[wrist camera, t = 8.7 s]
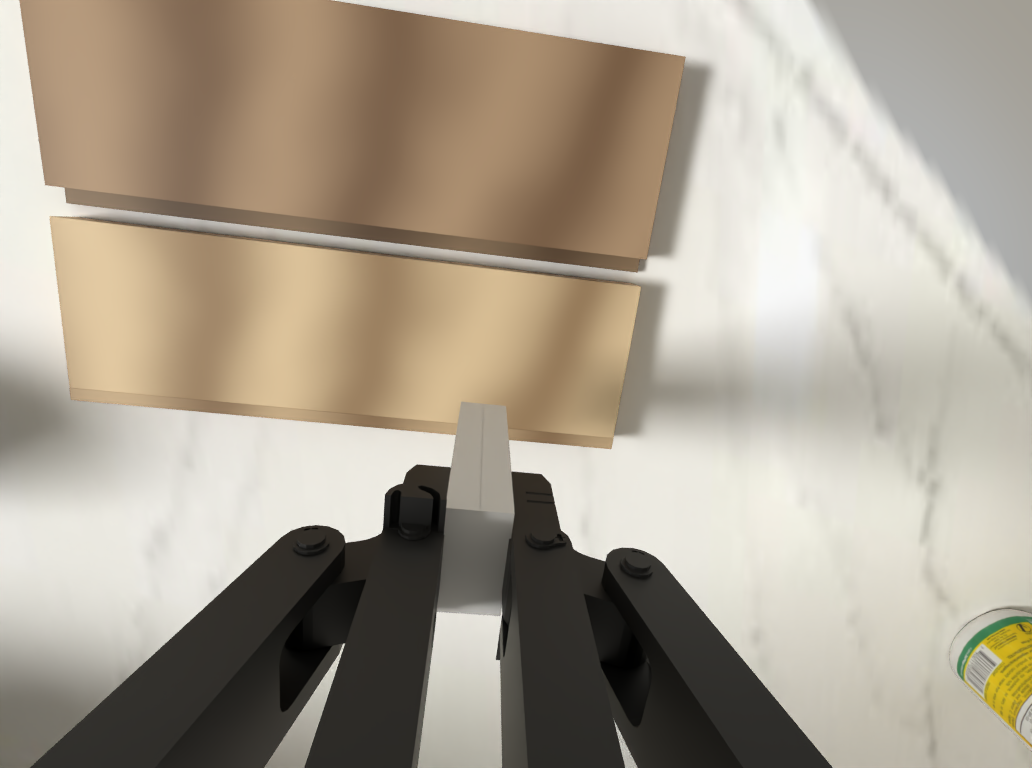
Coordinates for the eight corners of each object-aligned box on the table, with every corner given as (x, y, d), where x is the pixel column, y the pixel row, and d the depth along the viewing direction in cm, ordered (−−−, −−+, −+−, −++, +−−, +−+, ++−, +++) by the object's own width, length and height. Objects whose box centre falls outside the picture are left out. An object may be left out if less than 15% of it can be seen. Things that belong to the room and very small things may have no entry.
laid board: (72, 203, 20) (47, 202, 19) (42, -35, 18) (12, -51, 17) (635, 271, 22) (643, 275, 21) (674, 65, 20) (685, 56, 19)
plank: (92, 390, 22) (71, 399, 21) (74, 216, 20) (49, 216, 19) (605, 438, 24) (611, 448, 23) (633, 283, 22) (641, 286, 21)
